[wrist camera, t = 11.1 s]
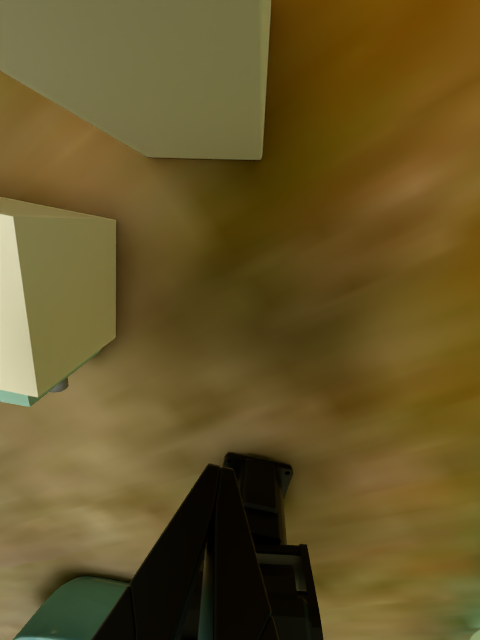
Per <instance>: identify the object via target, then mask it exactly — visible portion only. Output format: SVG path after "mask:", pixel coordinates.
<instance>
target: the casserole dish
mask: <svg viewBox="0 0 480 640" xmlns="http://www.w3.org/2000/svg"><path fill="white" fill-rule="evenodd" d="M127 586H130V583H127V582H121V581H116V580H111V579H105V578H98V577H90V576H84V577H78V578H75V579H73V580H71V581H69V582H67V583H65V584H64V585H62V586H61V587H60V588H58V589H57V590H56V591H55V592H54V593H53V594H52V595H51V596H50V597H49V598H48V599H47V600H46V601H45V602H44V603H43V605H42V606H41V607H40V608H39V609H38V610H37V612H36V613H35V614H34V615H33V616H32V618H31V619H30V620H29V621H28V622H27V624H26V625H25V626H24V627H23V628H22V630H21V631H20V632H19V633H18V634H17V635H16V637H15V638H14V639H13V640H91V638H92V637H93V636H94V634H95V633H96V631H97V630H98V628H99V627H100V626H101V624H102V623H103V621H104V620H105V618H106V617H107V615H108V614H109V613H110V611H111V610H112V608H113V607H114V605H115V604H116V602H117V601H118V599H119V598H120V596H121V595H122V593H123V592H124V590H125V589H126V587H127Z"/></svg>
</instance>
